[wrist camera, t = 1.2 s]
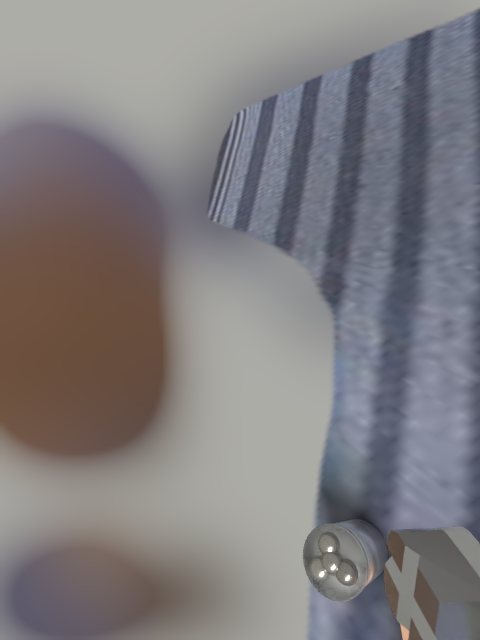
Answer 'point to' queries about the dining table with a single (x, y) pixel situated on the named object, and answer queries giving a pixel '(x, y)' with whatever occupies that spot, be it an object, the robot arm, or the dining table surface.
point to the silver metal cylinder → (344, 558)
